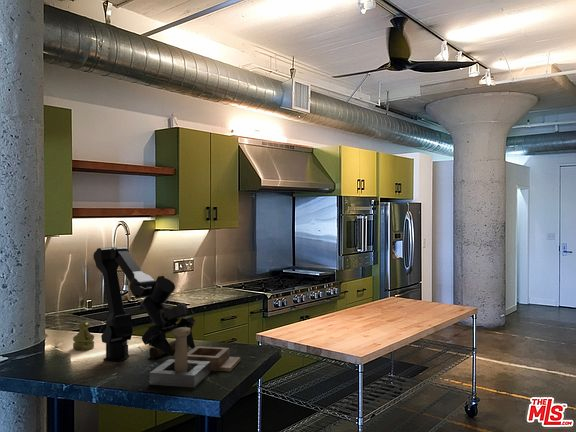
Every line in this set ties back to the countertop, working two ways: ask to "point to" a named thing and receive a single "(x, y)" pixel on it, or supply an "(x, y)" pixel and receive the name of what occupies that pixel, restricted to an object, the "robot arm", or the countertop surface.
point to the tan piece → (214, 357)
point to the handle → (181, 348)
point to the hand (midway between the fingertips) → (183, 351)
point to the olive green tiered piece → (83, 338)
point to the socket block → (180, 374)
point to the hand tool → (157, 352)
